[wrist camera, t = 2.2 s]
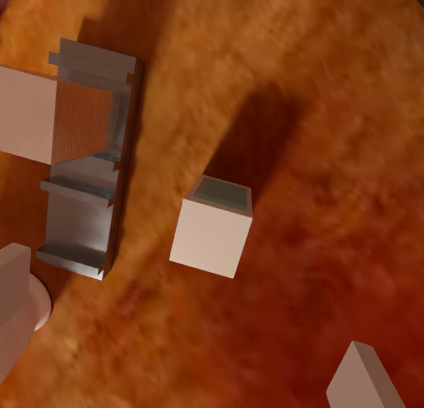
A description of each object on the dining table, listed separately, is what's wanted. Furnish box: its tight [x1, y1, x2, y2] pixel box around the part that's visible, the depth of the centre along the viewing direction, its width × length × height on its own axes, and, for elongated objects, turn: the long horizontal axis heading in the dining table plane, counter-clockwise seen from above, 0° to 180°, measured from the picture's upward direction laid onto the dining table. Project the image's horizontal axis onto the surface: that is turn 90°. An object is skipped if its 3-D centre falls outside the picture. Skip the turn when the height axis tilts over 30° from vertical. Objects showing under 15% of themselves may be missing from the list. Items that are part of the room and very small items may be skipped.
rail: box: [0, 38, 145, 280], centre depth 22 cm, size 20×6×10 cm, turn 166°
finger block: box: [169, 174, 253, 278], centre depth 23 cm, size 5×4×8 cm
